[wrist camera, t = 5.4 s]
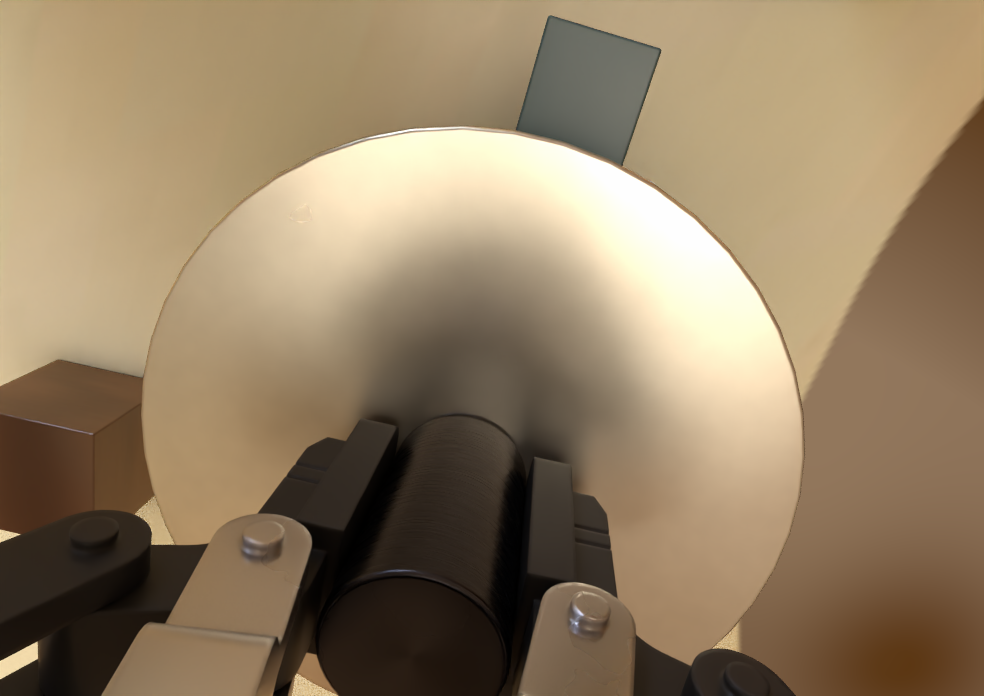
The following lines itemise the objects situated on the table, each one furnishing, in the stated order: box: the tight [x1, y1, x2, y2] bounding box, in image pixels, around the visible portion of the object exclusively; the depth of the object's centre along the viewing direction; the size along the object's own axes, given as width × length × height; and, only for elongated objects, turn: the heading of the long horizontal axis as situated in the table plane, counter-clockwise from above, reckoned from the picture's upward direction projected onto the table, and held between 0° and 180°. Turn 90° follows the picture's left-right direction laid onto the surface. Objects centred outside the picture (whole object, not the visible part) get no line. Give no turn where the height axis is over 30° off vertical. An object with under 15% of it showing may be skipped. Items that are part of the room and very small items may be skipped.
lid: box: [141, 126, 805, 696], centre depth 12 cm, size 13×13×6 cm
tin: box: [516, 15, 661, 166], centre depth 20 cm, size 12×17×8 cm
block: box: [0, 360, 154, 534], centre depth 25 cm, size 4×4×4 cm
